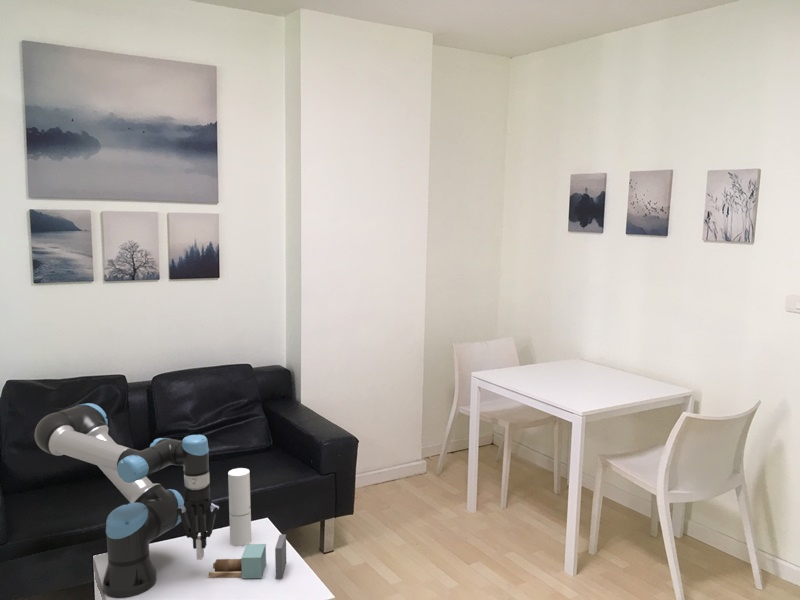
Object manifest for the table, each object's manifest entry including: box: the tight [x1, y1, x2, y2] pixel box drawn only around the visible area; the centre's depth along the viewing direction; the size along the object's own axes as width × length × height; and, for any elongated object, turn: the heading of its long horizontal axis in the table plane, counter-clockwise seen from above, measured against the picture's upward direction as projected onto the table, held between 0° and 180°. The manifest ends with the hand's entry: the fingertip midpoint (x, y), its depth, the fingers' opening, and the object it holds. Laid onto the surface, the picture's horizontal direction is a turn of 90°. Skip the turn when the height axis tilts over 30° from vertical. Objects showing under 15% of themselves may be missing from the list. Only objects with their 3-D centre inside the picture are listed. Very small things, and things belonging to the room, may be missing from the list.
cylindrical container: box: [227, 467, 252, 547], centre depth 222 cm, size 7×7×25 cm
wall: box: [274, 534, 287, 580], centre depth 204 cm, size 2×9×10 cm, turn 2°
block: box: [240, 543, 267, 579], centre depth 204 cm, size 6×9×7 cm
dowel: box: [214, 558, 242, 573], centre depth 204 cm, size 8×4×4 cm, turn 92°
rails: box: [207, 562, 242, 579], centre depth 204 cm, size 10×6×2 cm, turn 92°
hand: (200, 557), depth 203 cm, fingers closed
